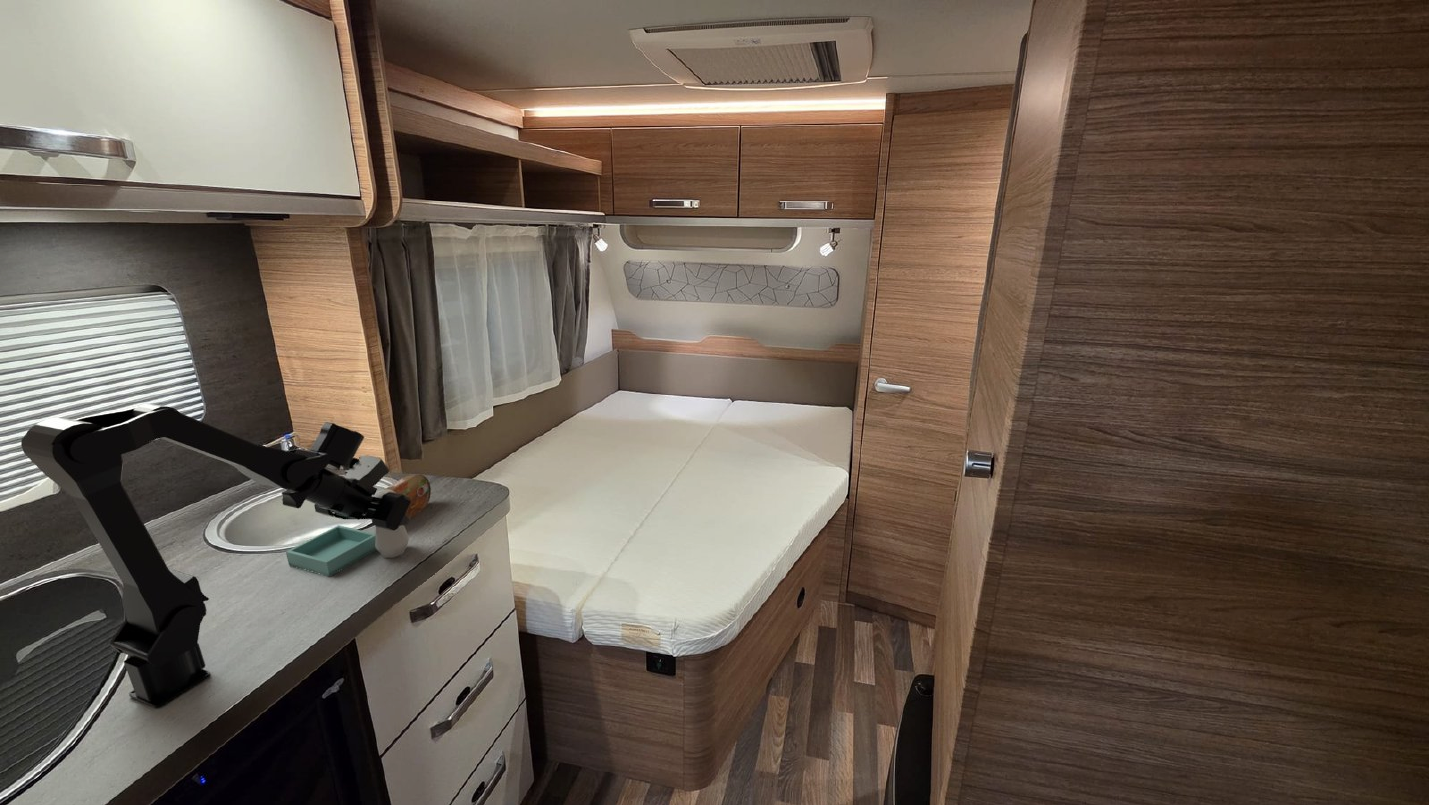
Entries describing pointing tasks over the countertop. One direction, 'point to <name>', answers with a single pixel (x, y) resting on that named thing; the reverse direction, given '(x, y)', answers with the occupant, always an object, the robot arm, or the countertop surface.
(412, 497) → the tin
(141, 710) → the countertop surface
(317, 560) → the tray
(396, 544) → the salt shaker
